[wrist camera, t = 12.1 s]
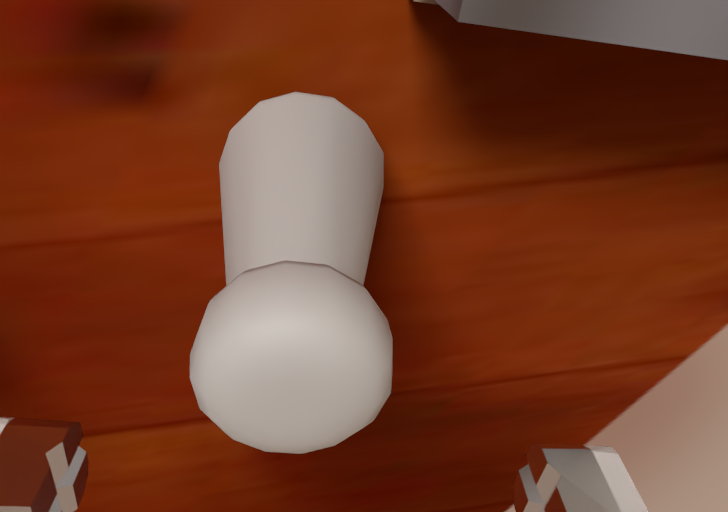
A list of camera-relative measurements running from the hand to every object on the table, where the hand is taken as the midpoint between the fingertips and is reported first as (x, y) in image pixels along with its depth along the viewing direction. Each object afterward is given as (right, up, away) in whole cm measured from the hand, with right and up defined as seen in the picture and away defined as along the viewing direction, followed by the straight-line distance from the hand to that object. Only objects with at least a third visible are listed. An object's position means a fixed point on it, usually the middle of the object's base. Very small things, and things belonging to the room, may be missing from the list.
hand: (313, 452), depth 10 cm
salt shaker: (-1, +8, +12) cm, 14 cm away
